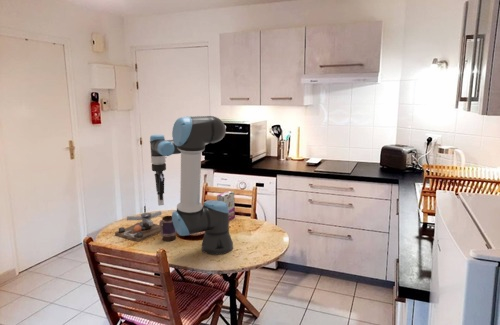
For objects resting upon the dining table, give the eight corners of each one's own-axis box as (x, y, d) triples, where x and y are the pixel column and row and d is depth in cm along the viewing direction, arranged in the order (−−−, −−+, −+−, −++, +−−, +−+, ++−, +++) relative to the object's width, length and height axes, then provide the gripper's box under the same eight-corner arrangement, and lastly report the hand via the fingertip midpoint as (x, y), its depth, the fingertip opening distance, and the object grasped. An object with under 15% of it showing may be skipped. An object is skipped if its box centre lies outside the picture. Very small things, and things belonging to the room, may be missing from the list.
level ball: (143, 231, 189) (143, 224, 188) (137, 234, 185) (137, 226, 185) (138, 230, 191) (137, 223, 190) (132, 232, 187) (131, 225, 187)
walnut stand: (166, 229, 197) (165, 223, 196) (138, 241, 180) (137, 235, 179) (143, 223, 206) (143, 218, 205) (115, 235, 189) (114, 229, 188)
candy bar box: (228, 216, 217) (228, 190, 214) (235, 217, 214) (234, 191, 212) (217, 221, 208) (216, 194, 205) (224, 223, 205) (223, 196, 202)
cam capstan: (173, 225, 198) (172, 211, 196) (151, 235, 184) (150, 220, 182) (149, 220, 207) (148, 206, 206) (126, 229, 193) (125, 214, 192)
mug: (168, 235, 188) (167, 213, 186) (179, 237, 185) (177, 215, 183) (155, 242, 179) (153, 219, 177) (166, 244, 176) (165, 221, 174)
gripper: (168, 164, 187) (170, 207, 191) (162, 160, 198) (164, 200, 203) (154, 166, 184) (156, 209, 188) (149, 161, 195) (151, 202, 200)
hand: (161, 204), depth 196 cm, fingers closed
